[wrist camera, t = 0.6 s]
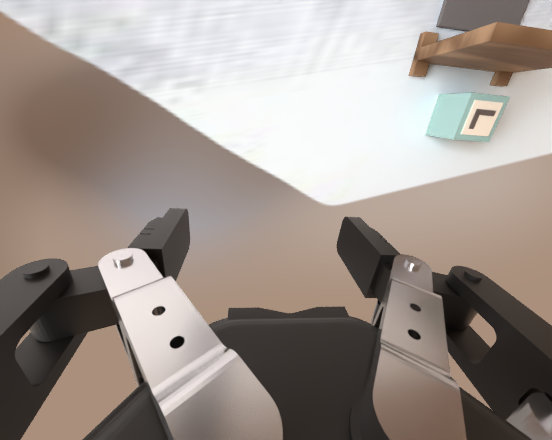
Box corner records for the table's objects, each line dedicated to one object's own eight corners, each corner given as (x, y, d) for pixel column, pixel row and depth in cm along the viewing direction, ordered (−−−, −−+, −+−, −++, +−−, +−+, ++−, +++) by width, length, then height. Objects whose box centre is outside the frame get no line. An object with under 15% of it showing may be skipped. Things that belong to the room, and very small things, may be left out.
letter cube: (438, 94, 36) (474, 92, 30) (472, 98, 37) (512, 96, 31) (424, 134, 39) (455, 139, 33) (456, 137, 40) (491, 142, 34)
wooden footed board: (420, 33, 32) (506, -3, 21) (517, 47, 34) (639, 21, 24) (408, 75, 34) (481, 61, 24) (500, 86, 36) (605, 78, 26)
